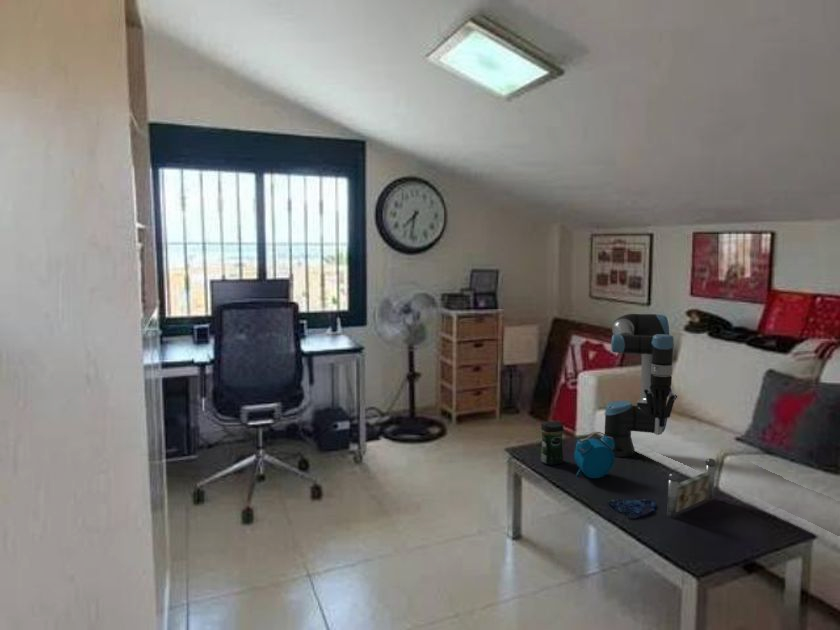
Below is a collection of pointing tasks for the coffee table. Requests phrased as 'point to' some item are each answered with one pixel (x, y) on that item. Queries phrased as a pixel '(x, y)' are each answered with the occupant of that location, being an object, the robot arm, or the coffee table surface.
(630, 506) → the rock
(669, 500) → the gate posts
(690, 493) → the gate
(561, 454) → the coffee jar
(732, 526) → the coffee table surface
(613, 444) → the alarm clock
